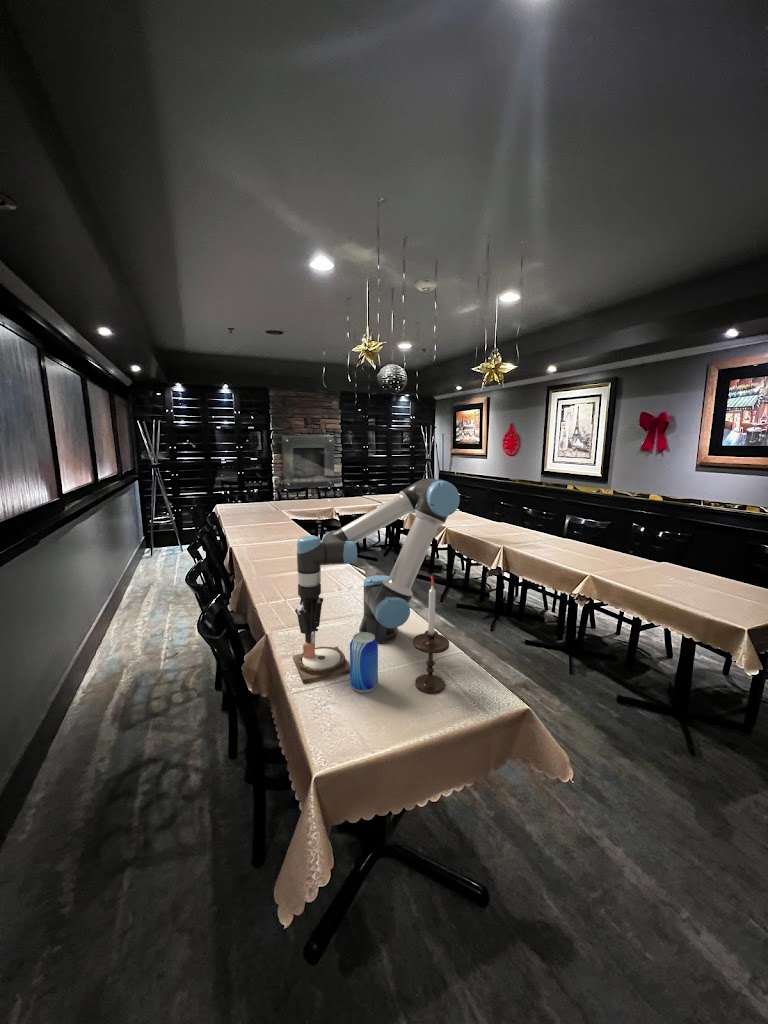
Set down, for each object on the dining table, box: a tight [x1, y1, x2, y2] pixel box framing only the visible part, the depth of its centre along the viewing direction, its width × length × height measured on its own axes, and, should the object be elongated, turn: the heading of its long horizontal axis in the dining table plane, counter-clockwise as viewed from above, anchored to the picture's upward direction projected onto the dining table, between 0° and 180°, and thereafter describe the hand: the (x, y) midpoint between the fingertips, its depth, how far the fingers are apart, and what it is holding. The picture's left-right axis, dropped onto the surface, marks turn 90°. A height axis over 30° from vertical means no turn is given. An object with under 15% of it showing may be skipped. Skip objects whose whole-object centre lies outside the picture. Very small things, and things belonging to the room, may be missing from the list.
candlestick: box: [412, 574, 450, 695], centre depth 121 cm, size 11×11×35 cm
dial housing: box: [292, 646, 350, 684], centre depth 134 cm, size 16×16×3 cm
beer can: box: [349, 632, 379, 694], centre depth 121 cm, size 8×8×16 cm
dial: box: [302, 642, 341, 669], centre depth 134 cm, size 13×13×6 cm
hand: (310, 649), depth 136 cm, fingers closed
